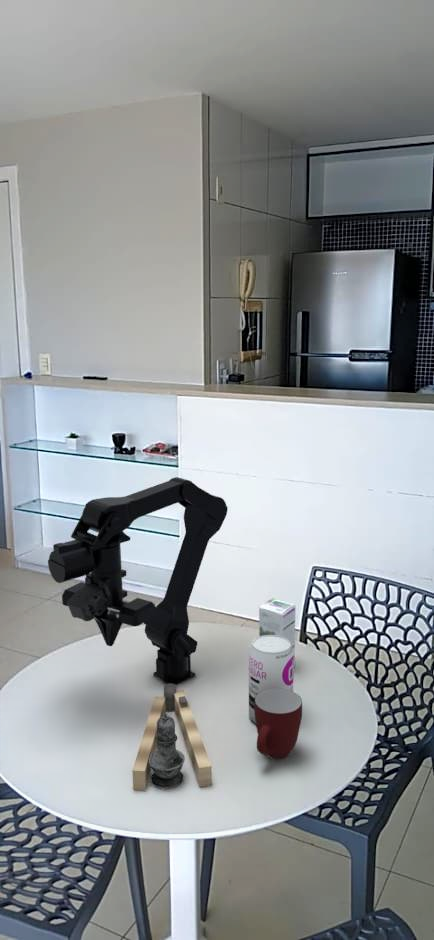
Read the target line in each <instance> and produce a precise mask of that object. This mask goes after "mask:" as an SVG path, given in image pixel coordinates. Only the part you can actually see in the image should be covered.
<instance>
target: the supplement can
mask: <svg viewBox="0 0 434 940" xmlns="http://www.w3.org/2000/svg"><path fill="white" fill-rule="evenodd" d="M294 668H295V666H294V650H293V648H292V646H291V644H290V641H289V640H288V639H286V638H284V637H281V636H277V635H264V636H258V637H256V638H255V639H253V640H252V643H251V645H250V647H249V649H248V716H249V718H250V720H252V721H253V723H255V724H256V721H255V713H254V704H255V697H256V696H257V694H259V693H260V692H262V691H264V690H267V689H274V688H280V689H287V690H290V691H293V692H294Z"/></svg>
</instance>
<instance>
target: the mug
mask: <svg viewBox="0 0 434 940" xmlns="http://www.w3.org/2000/svg"><path fill="white" fill-rule="evenodd" d="M254 713H255V721H256V723H255V726H256V729H257V739H256V749H257V752H258V753H260V754H261V755H266V756H268V757H269V758H271V759H273V760H284V759H286V758H288V757H289V756H290V754H291V752H292V751H293V750H294V748H295V746H296V744H297V741H298V738H299V737H298V736H299V733H300V728H301V723H302V718H303V699H302V698H301V696H300V695H299V694H298V693H296V692H294V690H293V691H290V690H287V689H280V688H274V689H267V690H264V691H262V692H260V693H259V694H257V696H256V697H255V704H254Z"/></svg>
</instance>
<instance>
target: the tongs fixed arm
mask: <svg viewBox="0 0 434 940" xmlns="http://www.w3.org/2000/svg"><path fill="white" fill-rule="evenodd" d="M163 697H165V700H166V712H174V713H175V716H176V719H177V722H178V726H179V729H180V731H181V735H182V737H183V741H184V744H185V746H186V749H187V753H188V757H189V759H190V762H191V766H192V769H193V772H194V774H195V777H196V781H197V783H198V787H199V788H202V787H209V786H213V784H212V783H213V782H212V763H211V762H210V759H209V756H208V753H207V750H206V748H205V746H204V743H203V740H202V736H201V734H200V731H199V729H198V726H197V723H196V720H195V718H194V715H193V712H192V710H191V706H190V703H189V701H188V698H187V696H186V693H185V690H184V689H180V690H178V689H177V685H175V684H171V683H170V684H167V683H165V684H164V685H163Z"/></svg>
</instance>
